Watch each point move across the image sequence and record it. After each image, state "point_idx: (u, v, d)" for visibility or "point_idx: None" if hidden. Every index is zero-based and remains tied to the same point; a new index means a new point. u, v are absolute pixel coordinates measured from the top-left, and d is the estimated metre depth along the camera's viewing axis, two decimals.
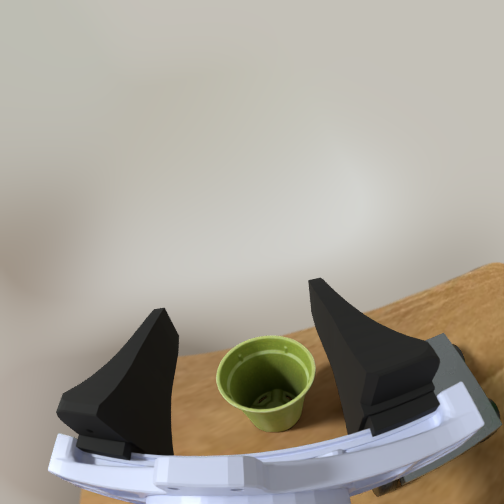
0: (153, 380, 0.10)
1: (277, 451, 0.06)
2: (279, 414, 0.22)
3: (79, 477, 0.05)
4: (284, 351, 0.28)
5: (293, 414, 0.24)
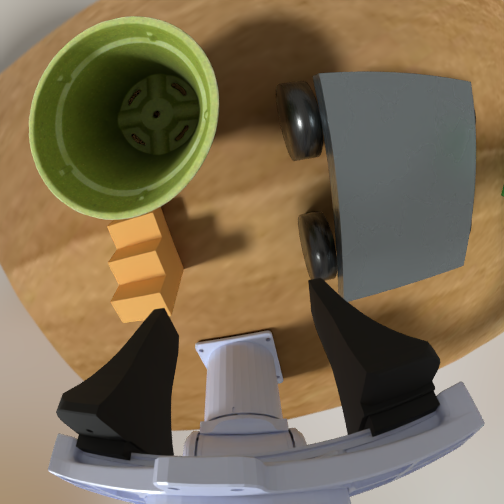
0: (153, 380, 0.10)
1: (277, 451, 0.06)
2: (159, 178, 0.13)
3: (79, 477, 0.05)
4: (149, 38, 0.09)
5: (185, 151, 0.14)
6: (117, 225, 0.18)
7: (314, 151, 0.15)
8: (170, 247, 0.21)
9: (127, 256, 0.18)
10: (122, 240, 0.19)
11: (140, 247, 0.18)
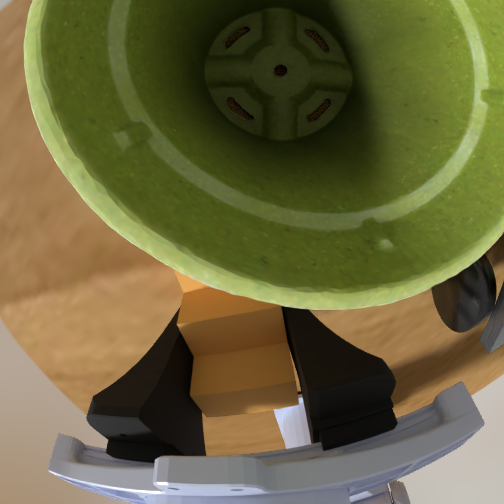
0: (186, 378, 0.10)
1: (277, 451, 0.06)
2: (375, 192, 0.06)
3: (79, 477, 0.05)
4: None
5: None
6: None
7: None
8: None
9: (219, 313, 0.10)
10: None
11: (238, 295, 0.11)
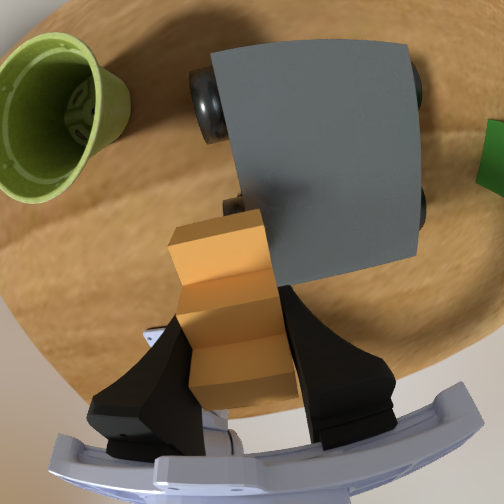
0: (186, 378, 0.10)
1: (277, 451, 0.06)
2: None
3: (79, 477, 0.05)
4: (64, 47, 0.08)
5: (105, 142, 0.14)
6: (189, 245, 0.11)
7: (221, 131, 0.14)
8: None
9: (218, 304, 0.10)
10: (194, 271, 0.12)
11: (237, 287, 0.11)
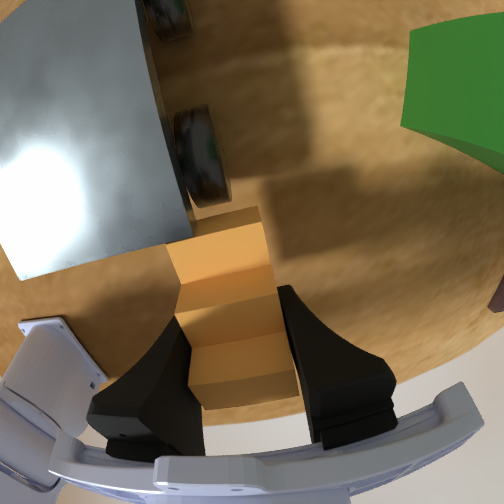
0: (186, 378, 0.10)
1: (277, 451, 0.06)
2: None
3: (79, 477, 0.05)
4: None
5: None
6: (186, 243, 0.11)
7: None
8: None
9: (216, 302, 0.10)
10: (193, 269, 0.11)
11: (235, 284, 0.11)
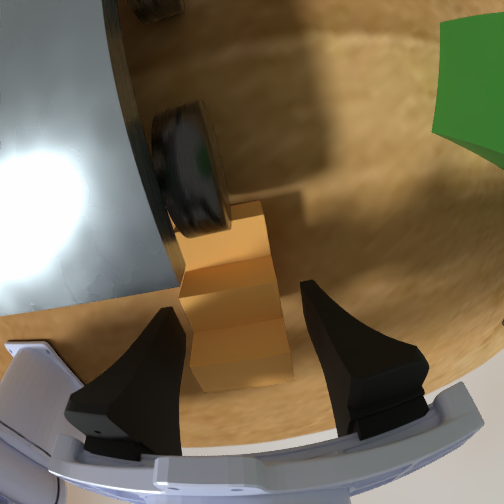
0: (162, 380, 0.10)
1: (277, 451, 0.06)
2: None
3: (79, 477, 0.05)
4: None
5: None
6: None
7: None
8: None
9: (219, 288, 0.11)
10: (197, 258, 0.12)
11: (237, 272, 0.12)
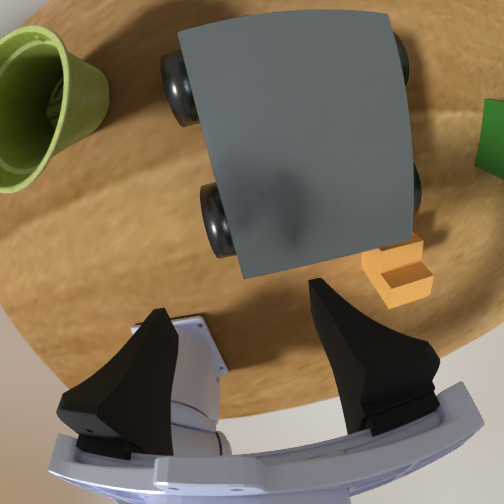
0: (153, 380, 0.10)
1: (277, 451, 0.06)
2: None
3: (79, 477, 0.05)
4: (40, 40, 0.07)
5: (81, 131, 0.13)
6: None
7: (193, 112, 0.13)
8: None
9: (398, 245, 0.19)
10: None
11: None
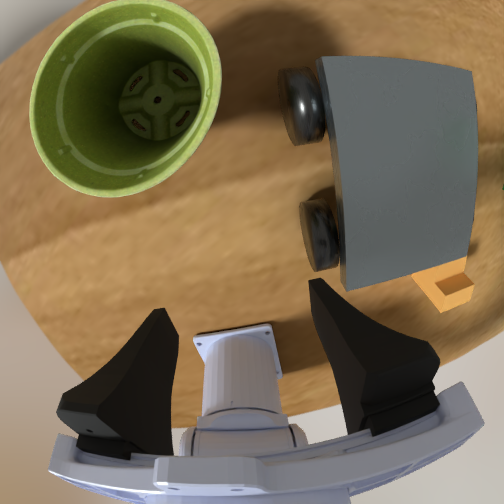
0: (153, 380, 0.10)
1: (277, 451, 0.06)
2: None
3: (79, 477, 0.05)
4: (153, 19, 0.08)
5: (185, 134, 0.14)
6: None
7: (317, 134, 0.14)
8: None
9: None
10: None
11: None
